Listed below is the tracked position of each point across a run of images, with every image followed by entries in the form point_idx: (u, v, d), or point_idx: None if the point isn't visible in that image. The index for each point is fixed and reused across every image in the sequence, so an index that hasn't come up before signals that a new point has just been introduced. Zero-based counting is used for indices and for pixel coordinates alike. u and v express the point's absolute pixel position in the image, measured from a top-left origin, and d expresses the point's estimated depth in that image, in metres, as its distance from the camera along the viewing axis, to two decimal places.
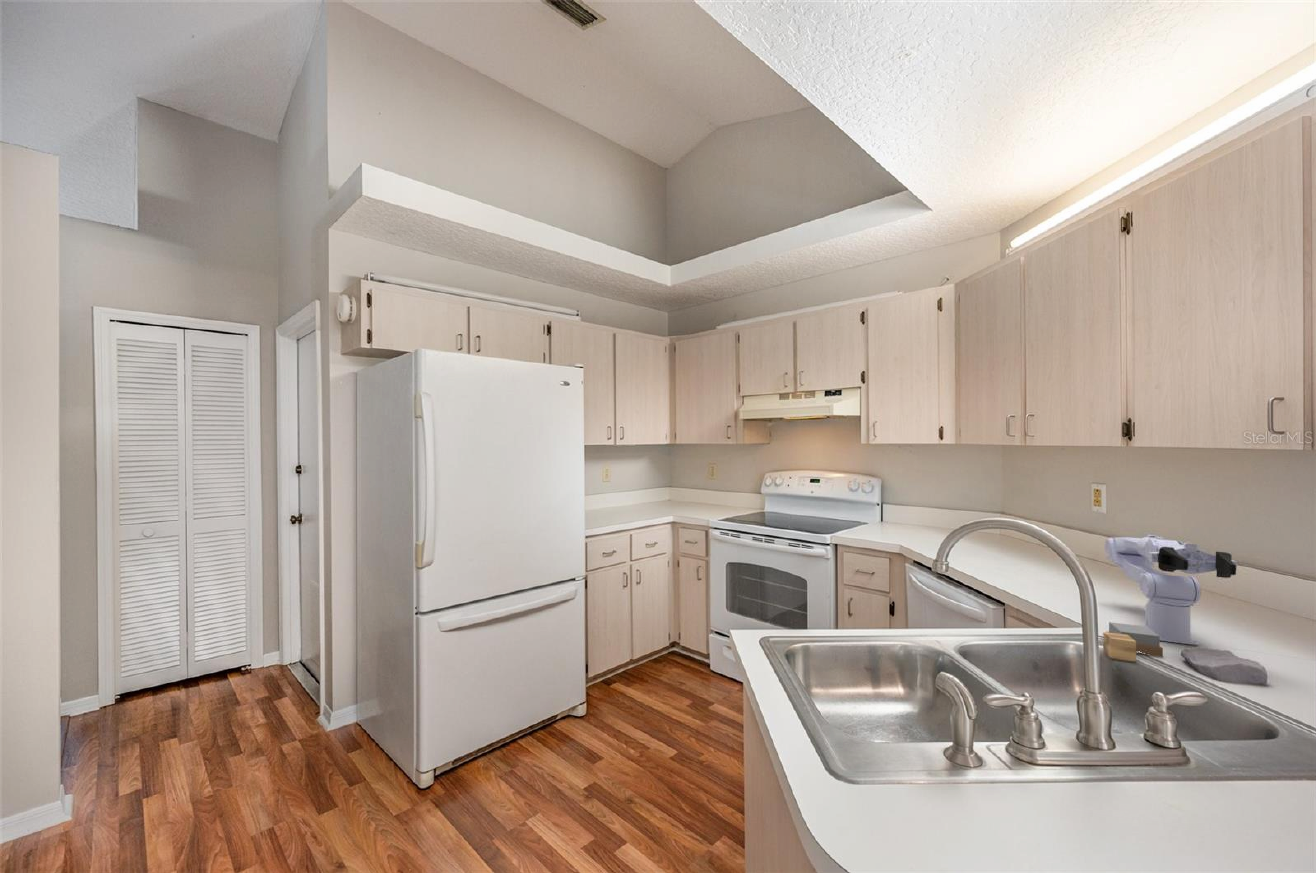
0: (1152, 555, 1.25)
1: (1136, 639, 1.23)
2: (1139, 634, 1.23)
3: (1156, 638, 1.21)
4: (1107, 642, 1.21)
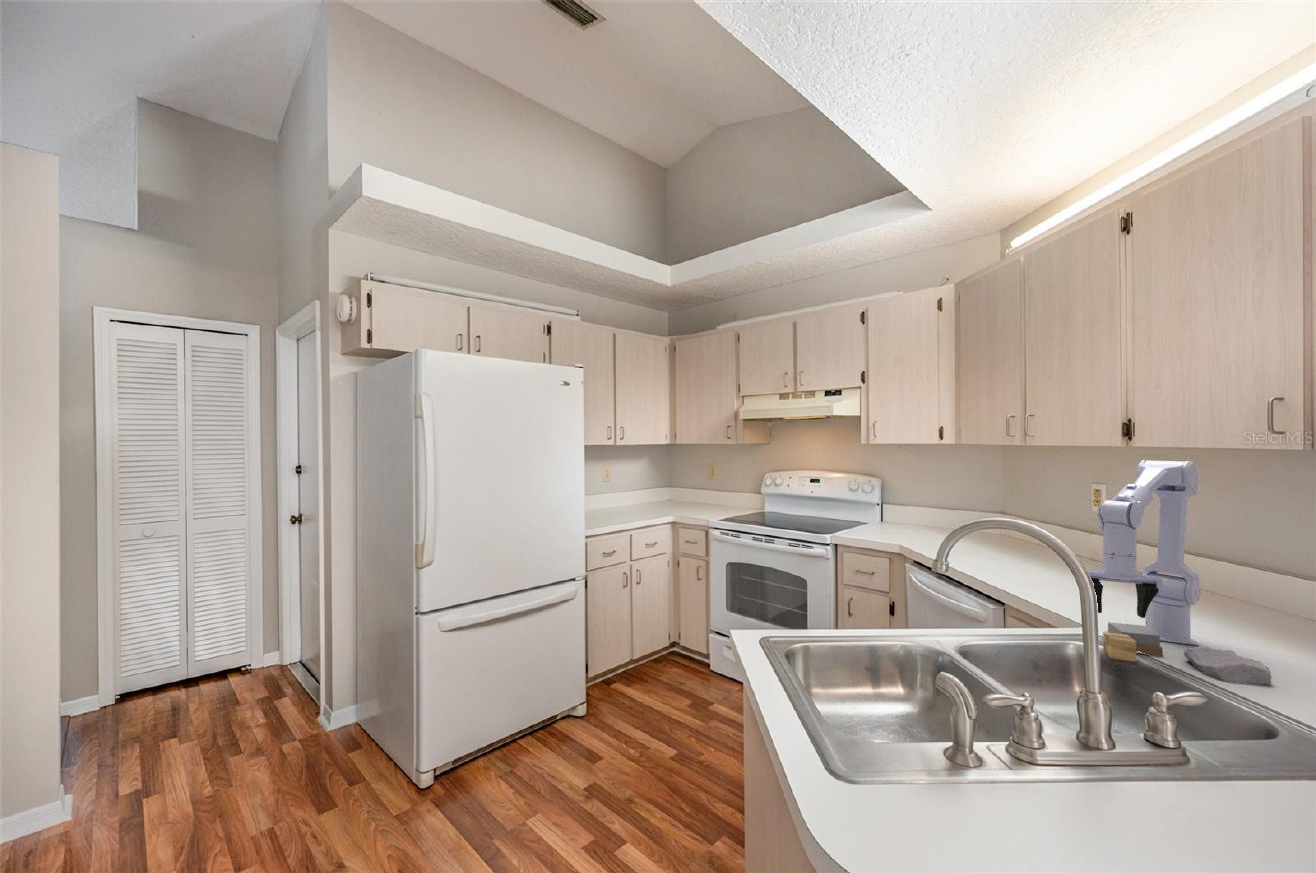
0: None
1: (1137, 639, 1.23)
2: (1139, 634, 1.23)
3: (1156, 637, 1.22)
4: (1107, 642, 1.21)
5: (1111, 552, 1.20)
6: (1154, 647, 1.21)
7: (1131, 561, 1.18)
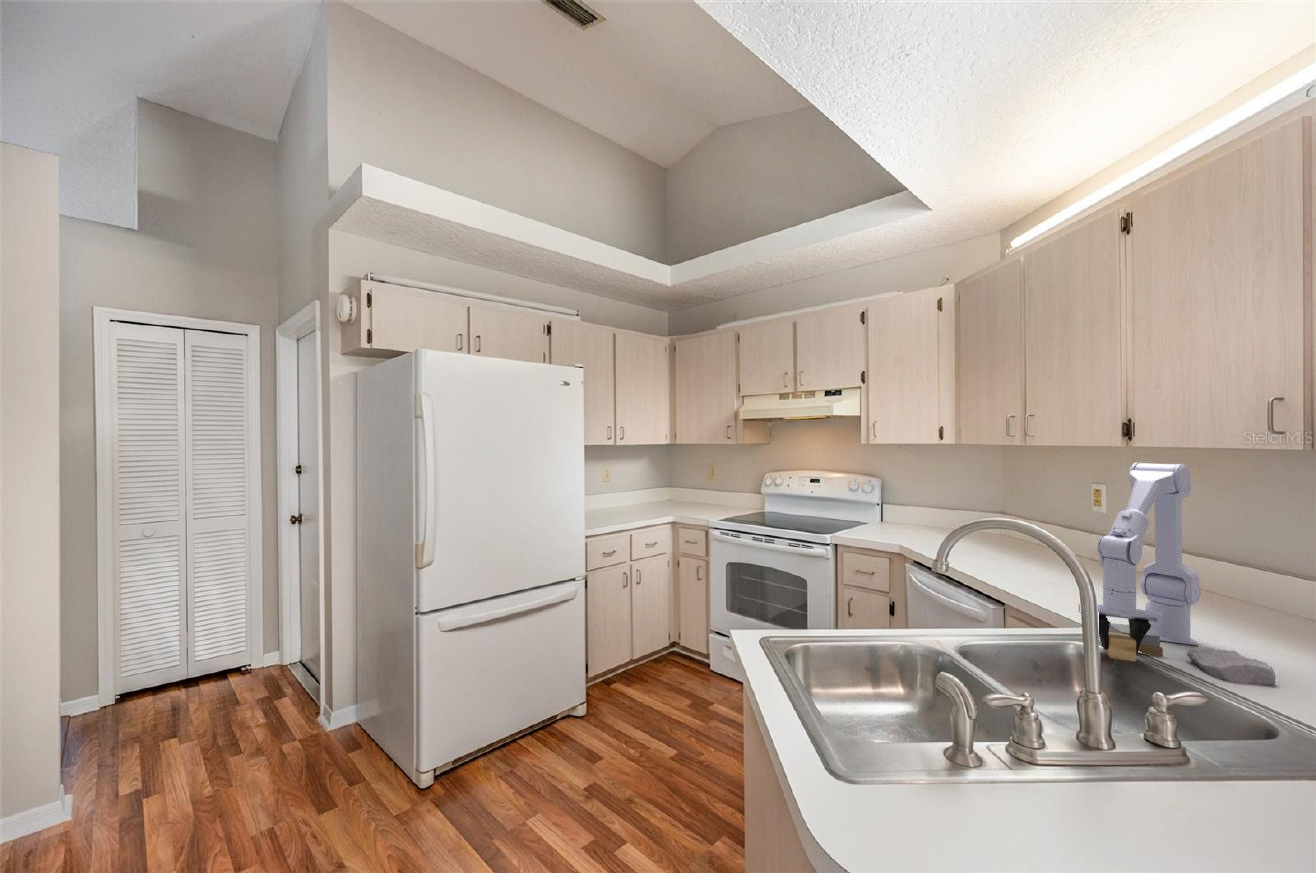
0: None
1: None
2: None
3: (1156, 638, 1.22)
4: None
5: (1111, 588, 1.20)
6: (1154, 647, 1.21)
7: (1131, 597, 1.18)
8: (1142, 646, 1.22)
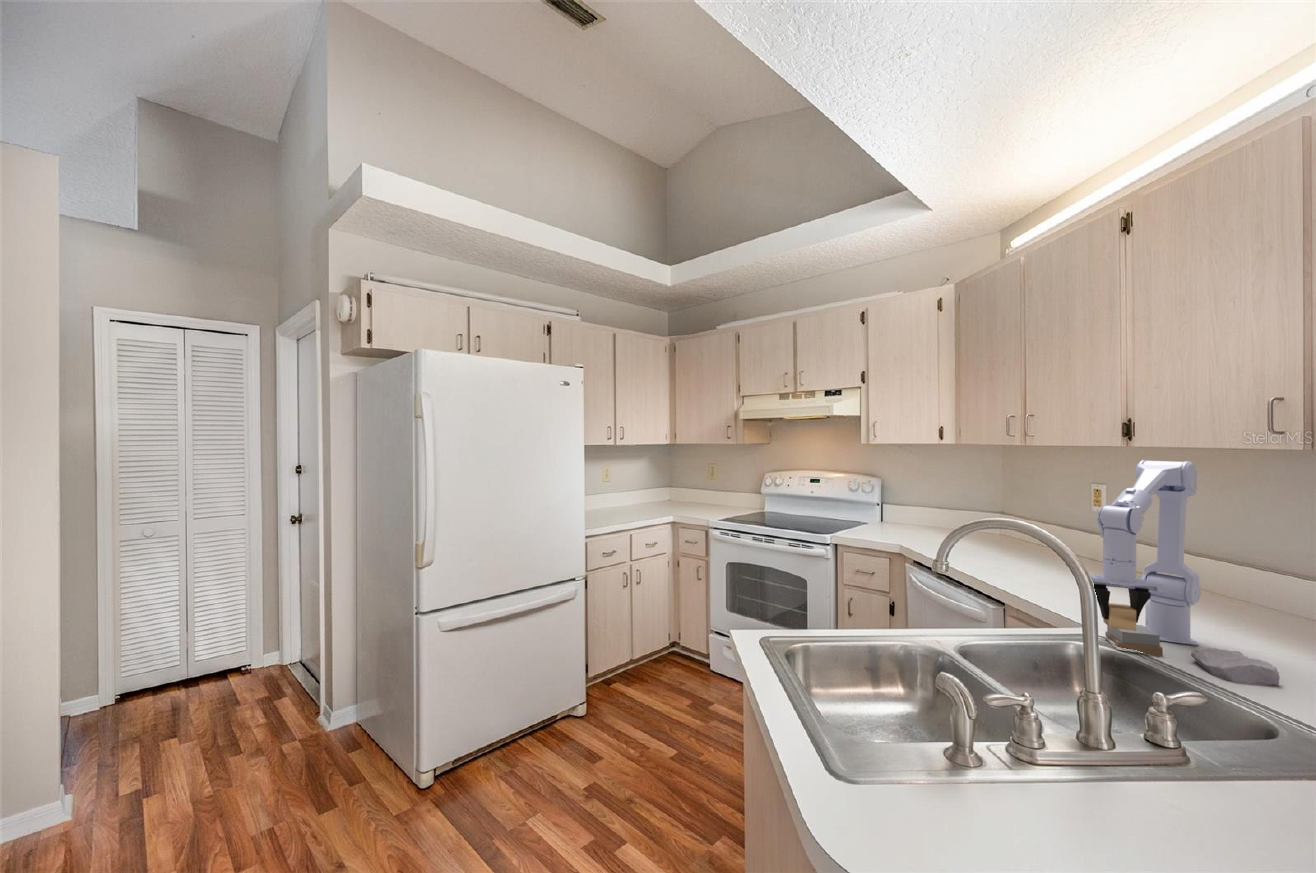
0: None
1: (1137, 639, 1.23)
2: (1140, 634, 1.23)
3: (1156, 637, 1.22)
4: None
5: (1111, 558, 1.20)
6: (1154, 647, 1.21)
7: (1131, 567, 1.18)
8: (1142, 646, 1.22)
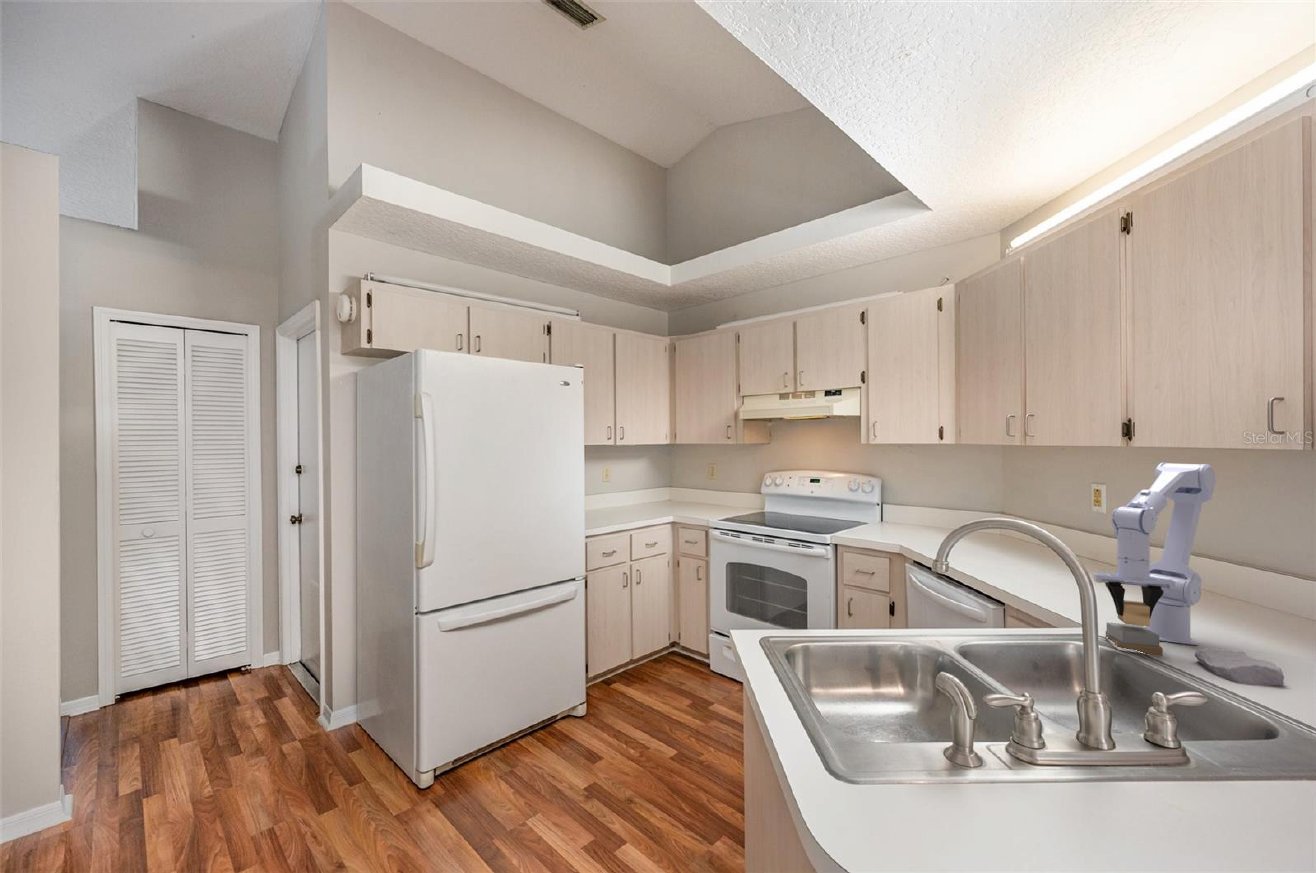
0: (1096, 581, 1.29)
1: (1137, 639, 1.23)
2: (1140, 634, 1.23)
3: (1156, 637, 1.22)
4: None
5: (1124, 556, 1.25)
6: (1154, 647, 1.21)
7: (1144, 565, 1.23)
8: (1142, 646, 1.22)
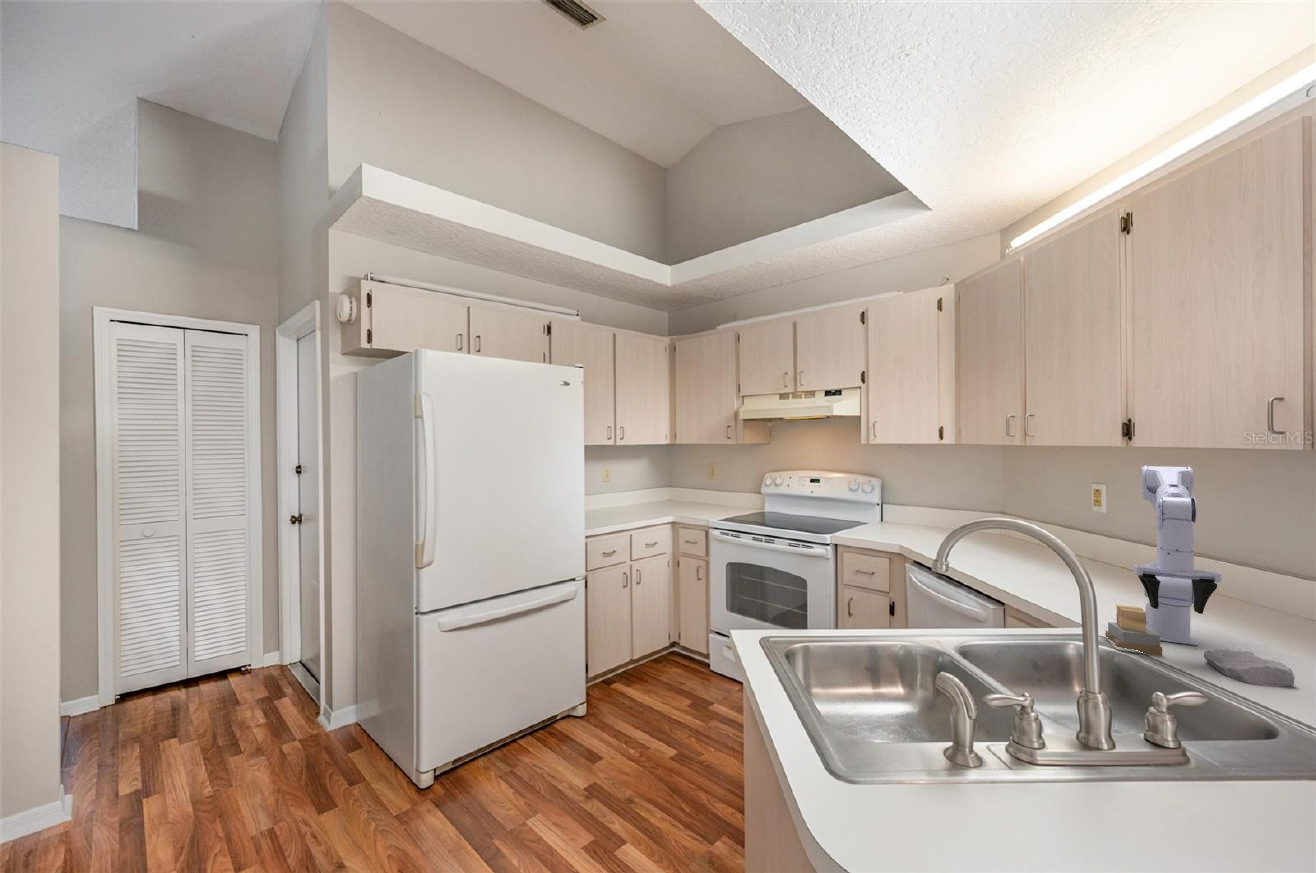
0: (1136, 574, 1.24)
1: (1137, 639, 1.23)
2: (1140, 634, 1.23)
3: (1157, 637, 1.22)
4: (1119, 613, 1.27)
5: (1175, 549, 1.19)
6: (1154, 647, 1.22)
7: (1189, 557, 1.19)
8: (1141, 645, 1.22)
